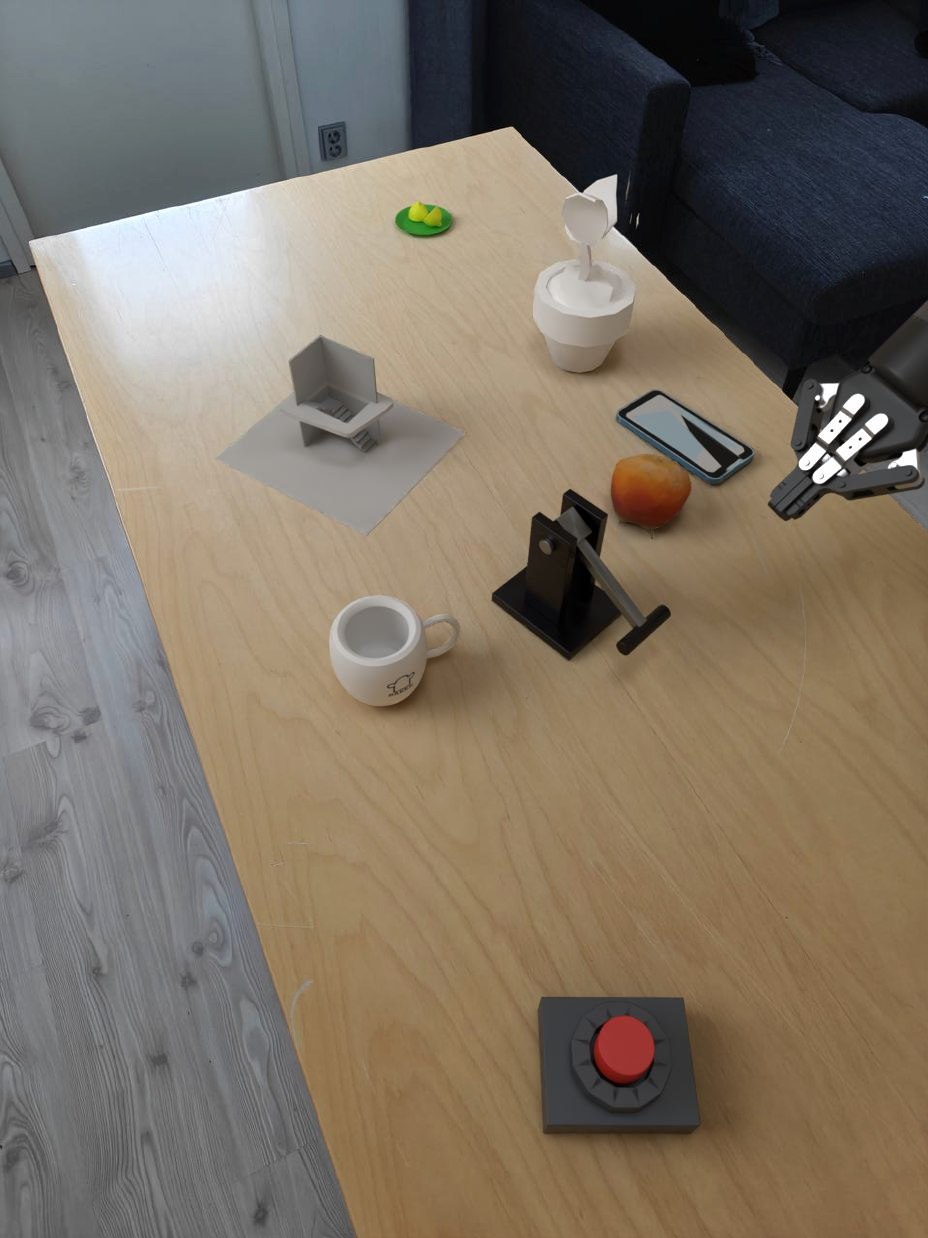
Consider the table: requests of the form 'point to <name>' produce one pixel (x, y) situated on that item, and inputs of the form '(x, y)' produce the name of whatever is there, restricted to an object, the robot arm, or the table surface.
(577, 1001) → the button block
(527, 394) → the table surface
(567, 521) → the lever
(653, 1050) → the button
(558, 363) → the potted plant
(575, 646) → the bracket
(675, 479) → the fruit
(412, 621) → the mug
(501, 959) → the table surface
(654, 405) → the smartphone
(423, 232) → the plate of lemons
